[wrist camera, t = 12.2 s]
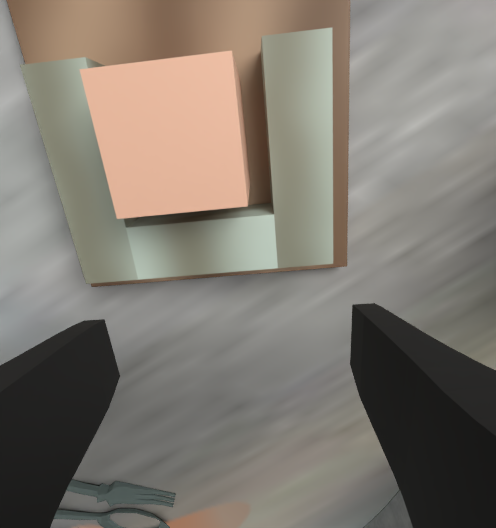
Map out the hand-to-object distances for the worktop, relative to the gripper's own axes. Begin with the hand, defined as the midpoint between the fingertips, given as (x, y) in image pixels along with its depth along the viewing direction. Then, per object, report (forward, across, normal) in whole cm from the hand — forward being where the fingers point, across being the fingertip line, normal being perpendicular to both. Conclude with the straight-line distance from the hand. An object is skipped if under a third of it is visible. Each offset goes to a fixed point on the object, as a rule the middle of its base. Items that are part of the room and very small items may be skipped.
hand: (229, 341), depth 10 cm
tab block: (+8, +2, -6) cm, 10 cm away
